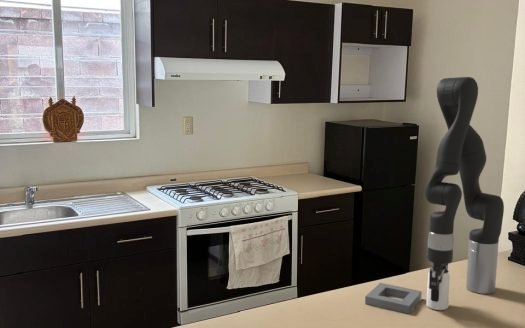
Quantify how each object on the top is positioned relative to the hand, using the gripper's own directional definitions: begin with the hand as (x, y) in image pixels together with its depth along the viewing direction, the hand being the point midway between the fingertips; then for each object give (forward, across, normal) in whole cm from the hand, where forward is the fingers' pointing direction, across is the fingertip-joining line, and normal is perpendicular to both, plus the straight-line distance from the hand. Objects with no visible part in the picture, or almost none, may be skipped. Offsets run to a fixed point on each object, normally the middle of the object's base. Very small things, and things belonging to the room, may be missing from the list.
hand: (437, 296), depth 166 cm
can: (+3, 0, 0) cm, 3 cm away
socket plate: (+3, -3, +13) cm, 14 cm away
